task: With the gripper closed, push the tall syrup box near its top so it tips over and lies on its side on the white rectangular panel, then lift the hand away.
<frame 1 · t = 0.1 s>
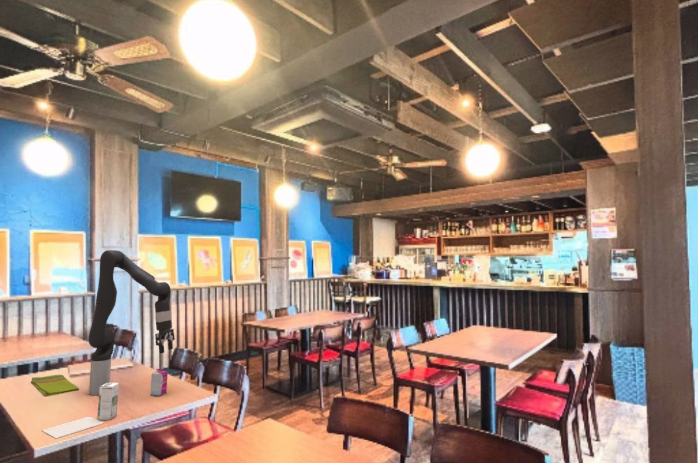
hand: (166, 351, 213), 22 cm above the table, tool pointing down, fingers open, 8 cm apart
dish towel: (54, 387, 224), on the table
syrup box: (107, 418, 180), on the table
supplement box: (158, 394, 212), on the table
white rectangular panel: (73, 427, 170), on the table
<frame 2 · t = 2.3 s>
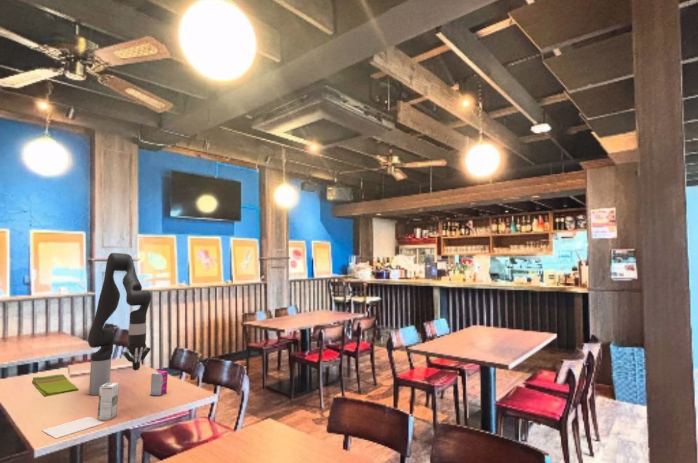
hand: (136, 369, 192), 18 cm above the table, tool pointing down, fingers closed
nothing on the table moved.
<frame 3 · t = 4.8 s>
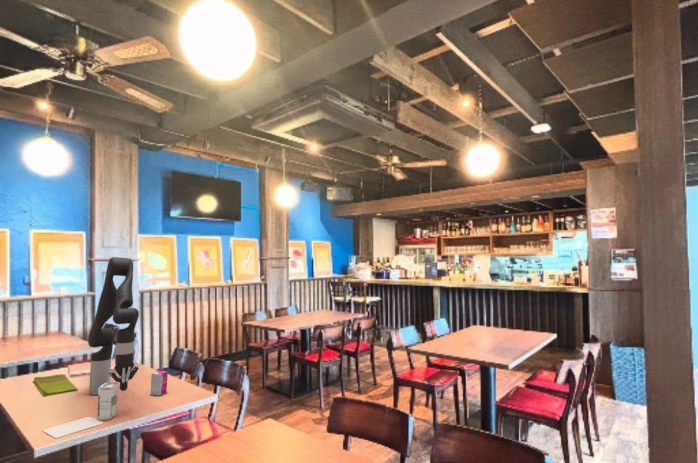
hand: (123, 390, 186), 10 cm above the table, tool pointing down, fingers closed
syrup box: (107, 417, 180), on the table, touching gripper
everything else where it was.
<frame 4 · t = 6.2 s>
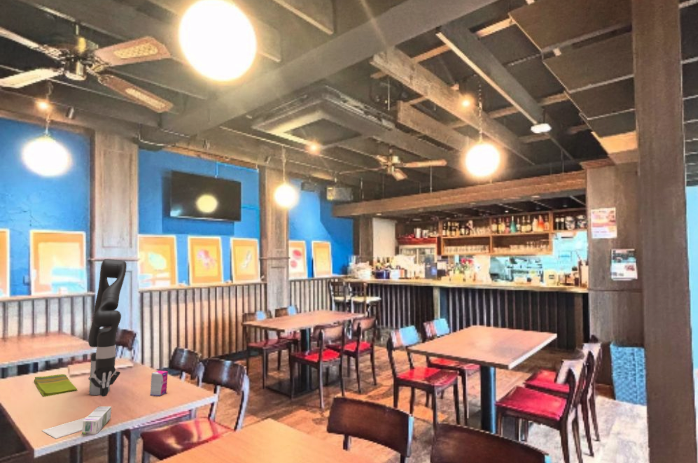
hand: (103, 395, 179), 10 cm above the table, tool pointing down, fingers closed
syrup box: (104, 412, 178), point 3 cm above the table, touching white rectangular panel
everything else where it was.
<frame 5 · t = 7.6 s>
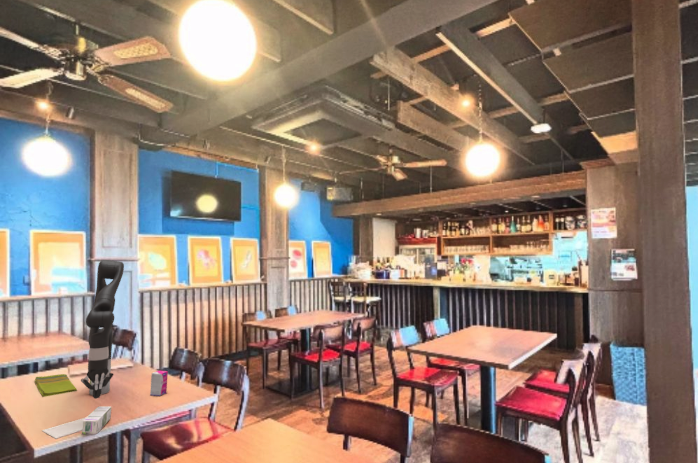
hand: (96, 397, 177), 10 cm above the table, tool pointing down, fingers closed
nothing on the table moved.
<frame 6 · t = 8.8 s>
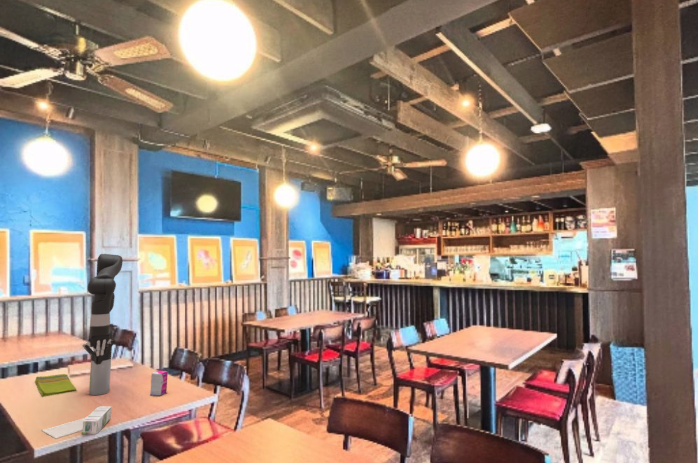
hand: (98, 364, 178), 24 cm above the table, tool pointing down, fingers closed
nothing on the table moved.
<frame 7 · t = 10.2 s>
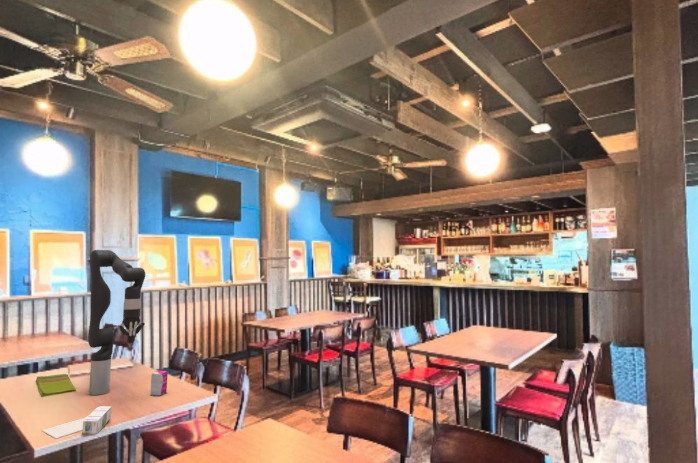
hand: (130, 343, 201), 29 cm above the table, tool pointing down, fingers closed
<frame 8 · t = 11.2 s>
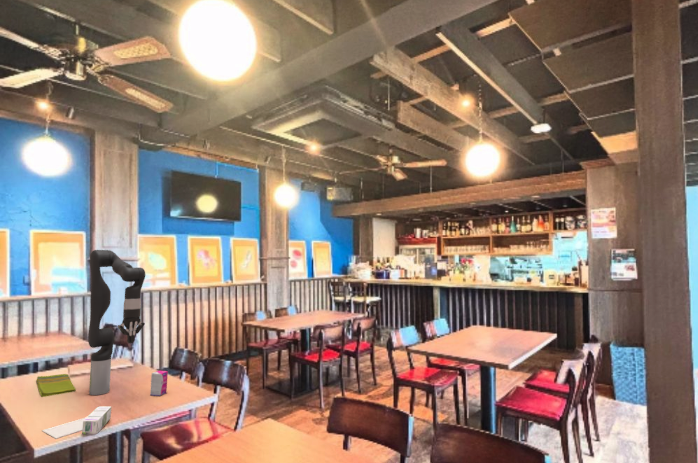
hand: (130, 343, 201), 29 cm above the table, tool pointing down, fingers closed
nothing on the table moved.
at the end: syrup box tilted 92°; syrup box touching white rectangular panel, table; syrup box inside the target area (7.1 cm from its centre), point 3.4 cm above the table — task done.
